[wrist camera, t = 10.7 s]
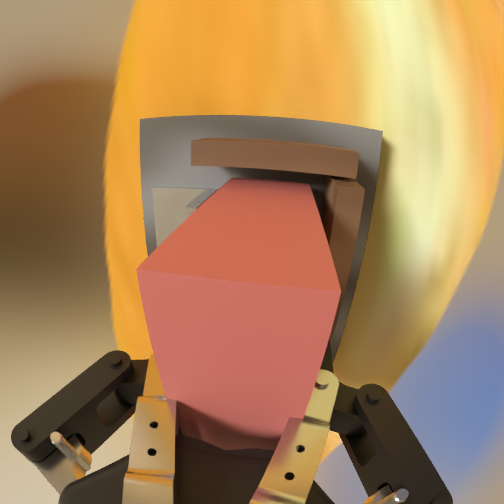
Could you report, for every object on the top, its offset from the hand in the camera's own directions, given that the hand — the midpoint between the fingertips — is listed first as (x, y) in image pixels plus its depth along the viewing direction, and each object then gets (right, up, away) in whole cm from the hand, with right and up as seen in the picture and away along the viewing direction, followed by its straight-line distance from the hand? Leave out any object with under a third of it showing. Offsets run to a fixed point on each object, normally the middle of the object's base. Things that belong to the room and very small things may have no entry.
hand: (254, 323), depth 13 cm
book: (+1, +2, +3) cm, 4 cm away
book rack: (+1, +3, +6) cm, 7 cm away
